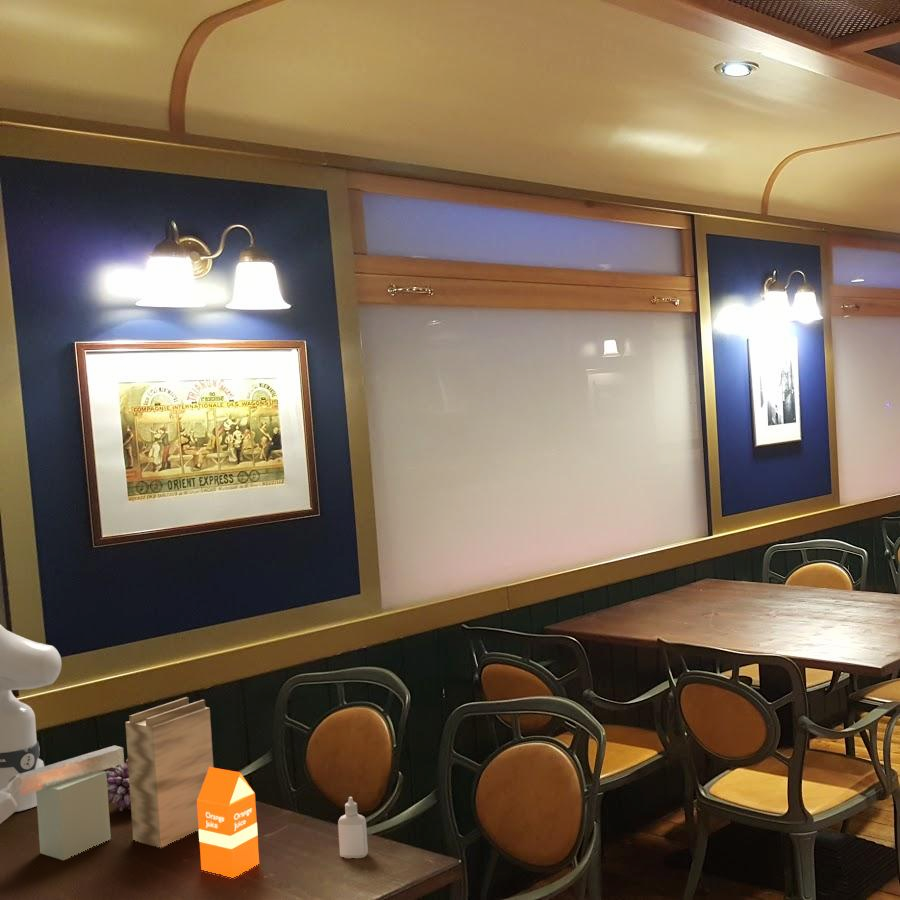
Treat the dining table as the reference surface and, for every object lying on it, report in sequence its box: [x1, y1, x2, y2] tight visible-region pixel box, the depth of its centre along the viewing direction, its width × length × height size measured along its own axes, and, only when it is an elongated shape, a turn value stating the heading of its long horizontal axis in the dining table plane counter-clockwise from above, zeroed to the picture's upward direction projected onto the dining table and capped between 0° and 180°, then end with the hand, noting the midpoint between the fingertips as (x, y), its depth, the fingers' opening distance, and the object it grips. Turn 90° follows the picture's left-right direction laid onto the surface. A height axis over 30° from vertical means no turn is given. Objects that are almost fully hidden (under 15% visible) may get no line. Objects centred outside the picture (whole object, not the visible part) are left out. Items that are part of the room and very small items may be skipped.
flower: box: [106, 758, 131, 812], centre depth 246 cm, size 12×12×12 cm
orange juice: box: [197, 766, 260, 879], centre depth 210 cm, size 8×9×20 cm
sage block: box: [36, 770, 112, 861], centre depth 226 cm, size 8×12×15 cm, turn 146°
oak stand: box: [125, 696, 214, 849], centre depth 231 cm, size 9×16×28 cm, turn 146°
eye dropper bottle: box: [337, 796, 369, 859], centre depth 213 cm, size 4×6×12 cm
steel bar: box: [11, 745, 125, 796], centre depth 226 cm, size 4×24×4 cm
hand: (4, 774), depth 212 cm, fingers open, 8 cm apart
